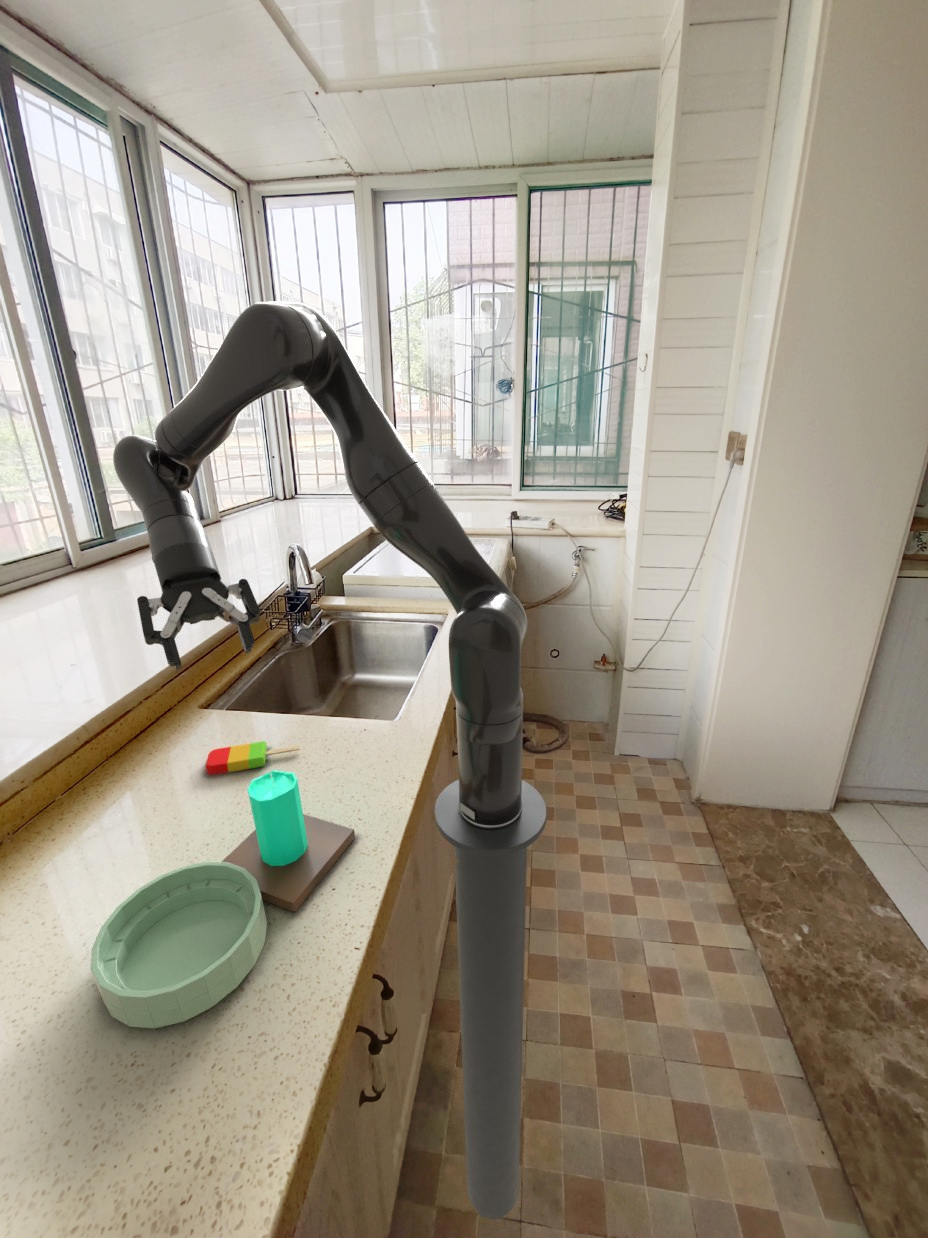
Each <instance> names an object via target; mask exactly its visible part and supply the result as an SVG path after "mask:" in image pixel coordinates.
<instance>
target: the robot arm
mask: <svg viewBox="0 0 928 1238" xmlns="http://www.w3.org/2000/svg"><path fill="white" fill-rule="evenodd" d="M298 389H303V390H304V391H305V392H306V394H307V395H308V396H309V397H310V398H311V399H312V401H313V402H314V403H315V405H316V406H317V407H318V408H319V410H320V411H321V413H322V415H323V416H324V417H325V418H326V420H327V422H328V423H329V425H330V427H331V429H332V431H333V433H334V435H335V438H336V441H337V445H338V448H339V454H340V459H341V464H342V469H343V473H344V476H345V480H346V483H347V485H348V488H349V491H350V493H351V495H352V497H353V498H354V500H355V501H356V503H357V504H358V506H359V507H360V508H361V510H362V511H363V512H364V514H365V515H366V517H367V519H368V520H369V522H370V523H371V524H372V525H373V527H374V528H375V529H376V530H377V531H378V533H379V534H380V535H381V536H382V537H383V539H384V540H385V541H387V542H388V543H389V544H390V545H391V546H393V548H395V550H397V551H398V552H400V553H401V554H403V555H404V556H405V557H407V558H408V559H409V560H410V561H411V562H413V563H414V564H415V565H417V566H418V567H420V568H421V569H423V570H424V571H425V572H426V574H428V575H429V576H430V577H431V578H432V579H433V580H434V581H435V582H436V584H437V585H438V586H439V588H440V589H441V591H442V592H443V593H444V595H445V596H446V598H447V600H448V601H449V603H450V605H452V608H453V609H454V611H455V613H456V615H455V617H454V619H453V620H452V623H451V624H450V628H449V632H448V660H449V661H448V662H449V675H450V687H451V688H450V689H451V693H452V696H453V698H454V700H455V712H456V740H457V742H456V744H457V772H458V780H459V813H460V815H461V817H462V818H463V819H464V821H466V822H467V823H468V824H470V825H471V826H473V827H476V828H479V829H484V830H498V829H503V828H506V827H508V826H510V825H512V824H513V823H515V822H516V821H517V820H518V819H519V817H520V815H521V812H522V802H521V792H522V780H523V739H524V738H523V737H524V736H523V735H524V734H523V733H524V730H523V729H524V691H523V689H522V687H521V666H522V665H521V661H522V660H521V659H522V657H521V656H522V653H521V652H522V645H523V643H524V639H525V637H526V634H527V632H528V631H527V630H528V617H527V614H526V610H525V607H524V606H523V605H522V603H521V601H520V600H519V599H518V597H517V596H516V595H515V594H514V592H513V591H512V590H511V589H510V588H509V587H508V585H507V584H506V583H505V582H504V581H503V580H502V579H501V577H500V576H499V575H498V574H497V573H496V571H495V570H494V569H493V568H492V567H491V565H490V564H489V563H488V562H487V561H486V559H485V558H484V557H483V556H482V555H481V554H480V552H479V551H478V549H477V548H476V547H475V545H474V544H473V542H472V541H471V539H470V538H469V536H468V534H467V532H466V531H465V530H464V528H463V526H462V524H461V523H460V521H459V520H458V519H457V517H456V516H455V515H454V513H453V511H452V510H451V508H450V507H449V505H448V504H447V502H446V501H445V500H444V498H443V496H442V494H441V493H440V491H439V490H438V488H437V486H436V485H435V484H434V482H433V481H432V479H431V478H430V476H429V475H428V474H427V471H426V470H425V469H424V467H423V466H422V465H421V463H420V462H419V461H418V459H417V458H416V456H414V454H413V453H412V451H411V450H410V448H409V447H408V446H407V444H406V443H405V442H404V440H403V439H402V437H401V435H399V433H398V431H397V430H396V428H395V427H394V425H393V424H392V422H391V421H390V420H389V418H388V416H387V415H386V413H385V412H384V410H383V409H382V408H381V407H380V405H379V404H378V402H377V401H376V399H375V398H374V396H373V394H372V392H370V389H369V387H368V386H367V384H366V383H365V381H364V379H363V377H362V376H361V374H360V372H359V371H358V369H357V367H356V365H355V364H354V361H353V359H352V358H351V356H350V353H349V352H348V350H347V349H346V347H345V345H344V343H343V342H342V340H341V338H340V336H339V335H338V333H337V331H336V330H335V328H334V326H333V325H332V324H331V322H330V321H329V320H328V319H327V317H326V316H324V315H323V313H322V312H321V311H319V310H318V309H316V308H315V307H314V306H313V307H312V306H311V305H308V304H305V303H301V302H293V301H292V302H291V301H271V300H270V301H259V302H255V303H252V304H250V305H249V306H247V307H246V308H245V309H244V310H243V311H242V312H241V313H240V314H239V316H238V317H237V318H236V320H235V321H234V323H233V324H232V326H231V327H230V328H229V331H228V332H227V334H226V335H225V337H224V339H223V340H222V342H221V344H220V346H219V348H218V349H217V351H216V353H215V354H214V356H213V357H212V359H211V361H210V362H209V364H208V365H207V367H206V368H205V370H204V372H203V373H202V374H201V376H200V378H199V379H198V381H197V382H196V384H195V385H194V386H193V387H192V388H191V389H190V391H188V393H187V394H186V395H185V396H184V397H183V398H182V399H181V400H180V401H179V402H178V403H177V404H176V405H175V406H174V407H173V408H172V409H171V410H170V411H169V412H168V413H167V414H166V415H165V416H164V417H163V418H162V419H161V421H160V422H158V424H157V426H156V428H155V431H154V439H151V438H148V437H145V436H141V435H127V436H125V437H122V438H121V439H120V440H119V441H118V442H117V443H116V445H115V447H114V450H113V454H112V455H113V456H112V458H113V462H112V463H113V467H114V470H115V473H116V475H117V478H118V480H119V481H120V483H121V485H122V487H123V489H125V491H126V492H127V494H128V495H129V497H130V498H131V499H132V501H133V502H134V504H135V505H136V507H137V509H139V511H140V512H141V514H142V517H143V518H142V519H143V522H144V526H145V529H146V532H147V535H148V544H149V550H150V554H151V560H152V563H153V564H154V567H155V571H156V575H157V579H158V582H159V586H160V589H161V596H160V597H154V598H148V597H147V596H146V595H140V596H139V597H138V598H137V599H136V600H137V607H138V612H139V617H140V623H141V628H142V634H143V638H144V642H145V644H147V645H148V646H152V645H155V644H156V645H160V646H162V647H163V651H164V654H165V655H164V656H165V658H166V662H167V665H168V666H169V667H171V668H172V667H174V668H175V670H176V671H177V670H182V669H183V665H182V661H181V657H180V654H179V650H178V646H177V643H176V640H175V639H176V637H177V636H178V634H179V633H180V632H181V630H182V629H183V626H184V625H185V623H187V624H190V625H196V624H198V623H200V622H203V621H205V622H207V621H215V620H216V618H219V619H221V620H223V621H225V622H226V623H230V624H232V625H233V626H235V627H236V628H237V633H238V636H239V640H240V642H241V645H242V649H243V651H244V654H249V653H252V649H253V648H254V645H255V638H254V635H253V632H252V628H251V625H252V624H254V623H255V624H256V623H258V622H259V620H260V614H261V609H260V607H259V605H258V602H257V600H256V597H255V595H254V593H253V590H252V588H251V585H250V583H249V581H248V580H247V579H246V578H241V579H239V580H238V583H237V582H236V583H233V584H228V585H227V584H226V583H225V582H224V581H223V579H222V576H221V573H220V571H219V567H218V565H217V561H216V558H215V556H214V552H213V548H212V546H211V543H210V539H209V537H208V534H207V532H206V531H205V528H204V527H203V524H202V521H201V518H200V514H199V512H198V510H197V506H196V503H195V501H194V499H193V497H192V496H191V495H190V494H189V493H188V492H187V490H188V489H190V488H191V487H192V486H193V485H194V482H195V480H196V478H197V475H198V473H199V471H200V468H201V467H202V465H203V463H204V461H205V459H207V458H208V457H209V456H211V454H213V453H214V452H215V451H216V450H217V449H218V448H220V447H221V446H222V445H224V443H225V442H227V440H228V439H229V438H230V436H231V435H232V434H233V432H234V430H235V427H236V426H237V422H238V417H239V415H241V412H243V410H244V409H246V407H248V406H250V405H251V404H252V403H254V402H255V401H257V400H259V399H261V398H263V397H264V396H267V395H269V394H271V393H274V392H276V391H291V390H298ZM230 595H233V596H234V597H235V598H236V599H237V600H241V602H242V604H243V607H244V609H245V611H246V612H245V613H244V612H243V611H241V610H239V609H238V608H237V607H236V606H235V604H233V603H232V602H230V601H229V599H228V598H229V596H230ZM160 608H163V609H164V610H165V611H167V612H168V613H170V614H169V615H168V617H167V620H166V622H165V624H164V625H163V628H162V629H161V630H155V628H154V623H153V618H152V617H155V616H156V615H157V614H158V610H159V609H160Z"/></svg>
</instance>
